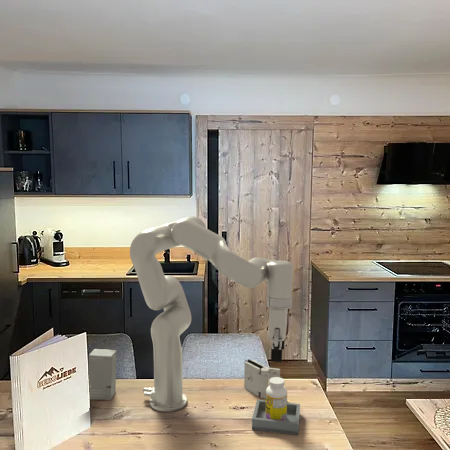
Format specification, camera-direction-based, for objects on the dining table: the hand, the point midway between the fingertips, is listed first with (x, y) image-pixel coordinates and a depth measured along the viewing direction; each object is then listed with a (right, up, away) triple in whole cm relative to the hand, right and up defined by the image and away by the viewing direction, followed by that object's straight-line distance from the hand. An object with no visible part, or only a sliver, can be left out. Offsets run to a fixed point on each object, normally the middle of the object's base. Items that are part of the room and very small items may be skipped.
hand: (277, 354), depth 141 cm
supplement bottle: (0, -21, +2) cm, 21 cm away
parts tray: (0, -22, +3) cm, 22 cm away
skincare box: (-59, -20, +18) cm, 65 cm away
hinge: (-3, -20, +22) cm, 29 cm away
